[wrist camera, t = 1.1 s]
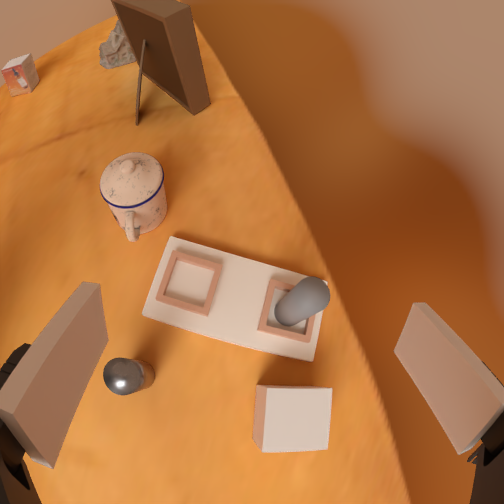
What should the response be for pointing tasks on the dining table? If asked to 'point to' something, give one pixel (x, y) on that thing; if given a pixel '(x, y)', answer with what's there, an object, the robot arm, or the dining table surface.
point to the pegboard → (237, 300)
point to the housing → (292, 418)
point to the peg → (128, 375)
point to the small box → (20, 75)
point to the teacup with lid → (135, 193)
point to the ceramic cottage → (116, 49)
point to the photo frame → (165, 49)
